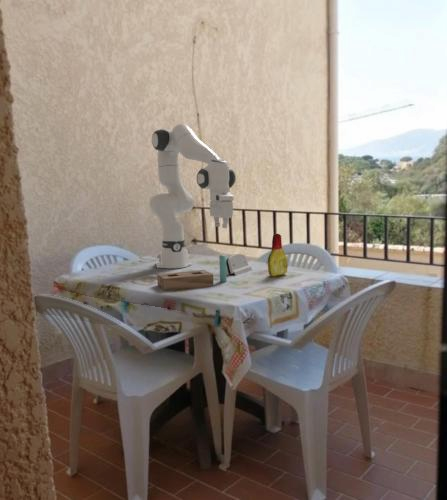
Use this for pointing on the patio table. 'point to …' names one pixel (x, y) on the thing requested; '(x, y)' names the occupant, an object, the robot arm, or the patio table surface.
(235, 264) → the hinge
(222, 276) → the peg
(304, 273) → the patio table surface
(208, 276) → the hole block
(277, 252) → the bottle
